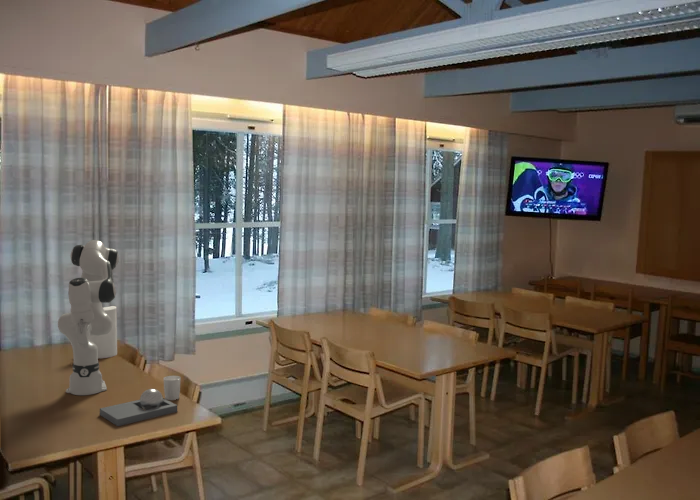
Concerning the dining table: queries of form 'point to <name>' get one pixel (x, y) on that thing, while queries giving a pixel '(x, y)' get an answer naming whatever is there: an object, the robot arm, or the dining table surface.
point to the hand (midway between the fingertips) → (86, 347)
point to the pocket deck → (135, 412)
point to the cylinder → (107, 336)
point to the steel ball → (151, 399)
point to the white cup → (172, 387)
